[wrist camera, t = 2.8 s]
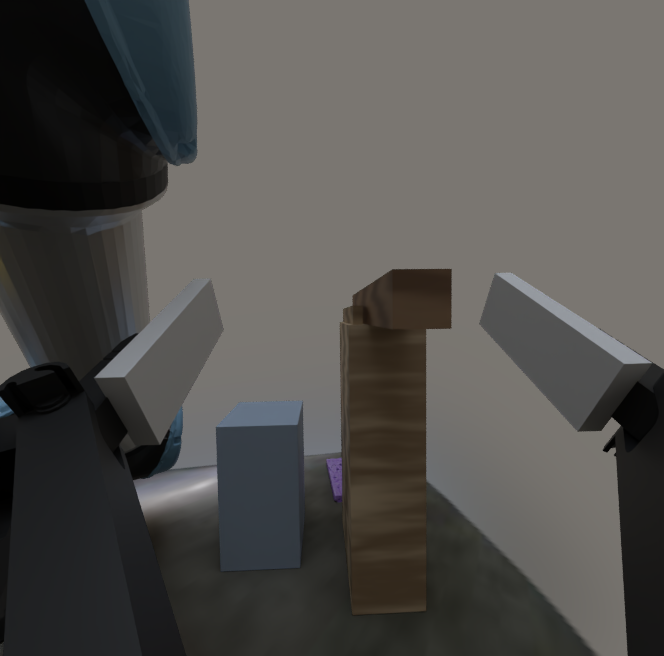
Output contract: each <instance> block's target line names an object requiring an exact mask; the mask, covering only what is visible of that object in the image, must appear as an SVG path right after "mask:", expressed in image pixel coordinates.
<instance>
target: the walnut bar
mask: <svg viewBox="0 0 664 656" xmlns="http://www.w3.org/2000/svg"><path fill="white" fill-rule="evenodd" d="M353 306H363V324H366V325H372V326H377V327H382V328H388V329H447V328H449V329H450V328H451V269H396V270H395V269H393V270H391V271H389V272H388V273H386V274H385V275H383V276H382V277H380V278H379V279H377V280H376V281H374V282H373V283H371V284H370V285H368V286H366V287H365V288H364V289H362V290H360V291H359V292H357V293H356V294H354V295H353Z"/></svg>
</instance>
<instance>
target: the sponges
mask: <svg viewBox="0 0 664 656" xmlns="http://www.w3.org/2000/svg"><path fill="white" fill-rule="evenodd" d="M327 468H328V473H329V477H330V482H331V486H332V491H333V497H334V501H337V502H342V458H339V459H327Z"/></svg>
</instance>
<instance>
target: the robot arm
mask: <svg viewBox="0 0 664 656" xmlns="http://www.w3.org/2000/svg"><path fill="white" fill-rule="evenodd" d="M195 88H196V87H195V72H194V58H193V46H192V33H191V22H190V11H189V0H0V313H1V315H2V317H3V318H4V320H5V322H6V324H7V326H8V328H9V329H10V331H11V333H12V335H13V337H14V338H15V340H16V342H17V344H18V346H19V348H20V349H21V351H22V353H23V355H24V357H25V358H26V360H27V362H28V364H29V366H30V367H31V368H28V369H26V370H23V371H21V372H19V373H17V374H16V375H14V376H12V377H10V378H9V379H8V380H6V381H5V382H4V383H3V384H1V385H0V642H1V641H2V640H4V649H3V656H186V654H185V650H184V647H183V644H182V641H181V637H180V634H179V631H178V627H177V624H176V621H175V618H174V614H173V611H172V608H171V604H170V601H169V598H168V595H167V591H166V588H165V585H164V581H163V578H162V575H161V571H160V568H159V565H158V562H157V558H156V555H155V552H154V548H153V545H152V542H151V539H150V535H149V532H148V529H147V525H146V522H145V519H144V516H143V512H142V509H141V506H140V502H139V499H138V496H137V492H136V489H135V486H134V483H133V480H136V479H140V478H141V479H145V478H150V477H152V476H153V475H155V474H158V473H161V472H165V471H167V470H169V469H170V468H172V467H173V466H174V465H175V463H176V462H177V460H178V457H179V453H180V449H181V435H182V428H183V412H182V404H183V402H184V400H185V398H186V397H187V395H188V393H189V391H190V390H191V388H192V386H193V384H194V382H195V381H196V379H197V377H198V375H199V373H200V371H201V370H202V368H203V366H204V364H205V362H206V361H207V359H208V357H209V355H210V353H211V351H212V349H213V348H214V346H215V344H216V343H217V341H218V339H219V337H220V335H221V333H222V332H223V325H222V321H221V317H220V313H219V309H218V305H217V301H216V298H215V293H214V289H213V285H212V281H211V279H193V281H191V282H190V283H189V284H188V285H187V286H186V287H185V289H183V290H182V291H181V292H180V293H179V294H178V295H177V296H176V297H175V298H174V299H173V300H172V301H171V302H170V303H169V304H168V305H167V306H166V307H165V308H164V309H163V310H162V311H161V312H160V313H159V314H158V315H157V316H156V317H155V318H154V319H153V320H152V321H151V322H150V316H149V303H148V289H147V276H146V263H145V251H144V236H143V222H142V210H143V209H145V208H147V207H148V206H150V205H152V204H154V203H155V202H157V201H158V200H160V199H161V198H162V197H163V196H164V194H165V193H166V191H167V186H168V177H167V176H168V167H167V161H168V162H169V163H170V164H173V165H176V166H179V165H181V164H182V163H185V164H188V163H192V162H193V161H194V160H195V159H196V156H197V105H196V89H195ZM479 324H480V325H481V326H482V327H483V329H484V330H485V331H486V332H487V333H488V334H489V335H490V336H491V337H492V338H493V339H494V341H495V342H496V343H497V344H498V345H499V346H500V347H501V348H502V349H503V350H504V351H505V352H506V354H507V355H508V356H509V357H510V358H511V359H512V360H513V361H514V362H515V364H516V365H517V366H518V367H519V368H520V369H521V370H522V371H523V372H524V373H525V374H526V376H528V378H529V379H530V380H531V381H532V382H533V383H534V384H535V385H536V386H537V387H538V389H539V390H540V391H541V392H542V393H543V394H544V395H545V396H546V397H547V398H548V400H549V401H550V402H551V403H552V404H553V405H554V406H555V407H556V408H557V409H558V410H559V412H560V413H561V414H562V415H563V416H564V417H565V418H566V419H567V420H568V421H569V423H570V424H571V425H572V426H573V427H574V428H575V429H576V430H577V431H578V432H579V431H601V430H602V429H603V428H604V426H605V425H606V424H607V423H608V421H609V420H610V419H611V417H612V418H614V419H615V420H616V421H617V422H618V423H619V424H620V425H621V426H620V428H619V429H618V430H617V431H616V433H615V434H614V435H613V436H612V438H611V439H610V440H609V442H608V443H607V444H606V445H605V446H604V449H603V451H604V452H608V451H609V450H610V449H611V448H615V447H616V453H615V454H614V456H616V460H617V477H618V494H619V513H620V528H621V529H620V530H621V547H622V564H623V581H624V599H625V616H626V633H627V651H628V656H664V369H662V368H660V367H659V366H657V365H656V364H654V363H653V362H651V361H649V360H648V359H646V358H645V357H643V356H641V355H640V354H638V353H637V352H635V351H634V350H632V349H631V348H629V347H627V346H625V345H624V344H623V343H621V342H620V341H618V340H616V339H614V338H613V337H612V336H610V335H609V334H607V333H605V332H604V331H602V330H601V329H599V328H597V327H595V326H594V325H592V324H591V323H589V322H587V321H586V320H584V319H583V318H581V317H580V316H578V315H576V314H575V313H573V312H572V311H570V310H569V309H567V308H565V307H564V306H562V305H561V304H559V303H558V302H556V301H555V300H553V299H551V298H550V297H548V296H547V295H545V294H544V293H542V292H540V291H539V290H537V289H536V288H534V287H532V286H531V285H529V284H528V283H526V282H525V281H523V280H522V279H520V278H519V277H517V276H515V275H514V274H512V273H495V275H494V278H493V281H492V285H491V288H490V291H489V294H488V297H487V301H486V304H485V307H484V310H483V313H482V316H481V320H480V323H479Z"/></svg>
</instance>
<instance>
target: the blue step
mask: <svg viewBox="0 0 664 656" xmlns="http://www.w3.org/2000/svg"><path fill="white" fill-rule="evenodd" d="M216 443H217V474H218V504H219V535H220V566H221V572H223V571H244V570H265V569H286V568H300V566H301V554H302V542H303V530H304V518H305V493H304V446H303V445H304V444H303V443H304V442H303V401H275V402H274V401H273V402H240V403H238V404H237V406H236V407H235V408H234V409H233V410H232V411H231V412H230V413H229V414H228V415H227V416H226V417H225V418H224V419H223V420H222V421H221V422H220V424H218V425H217V427H216Z"/></svg>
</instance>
